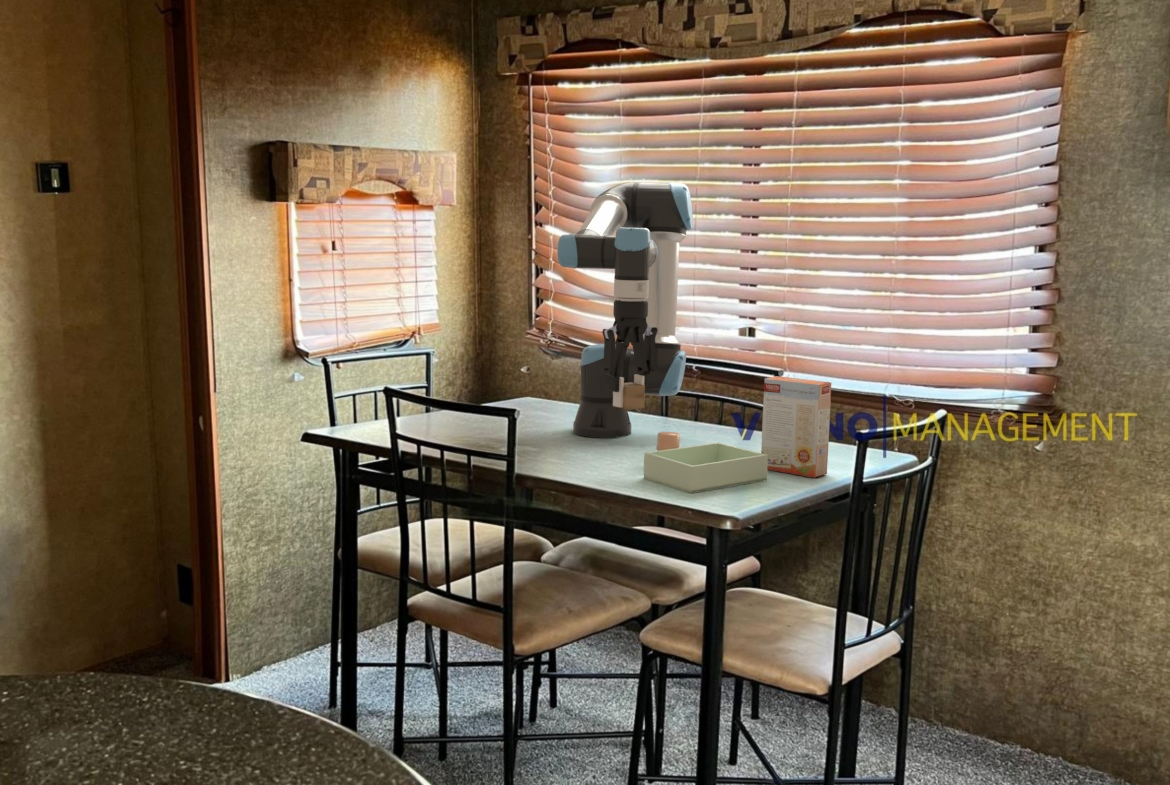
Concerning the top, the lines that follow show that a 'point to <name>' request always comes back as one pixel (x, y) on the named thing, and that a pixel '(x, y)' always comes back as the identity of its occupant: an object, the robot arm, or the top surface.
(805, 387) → the cracker box
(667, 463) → the sage tote
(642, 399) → the walnut cube
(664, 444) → the terracotta cylinder
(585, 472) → the top surface
